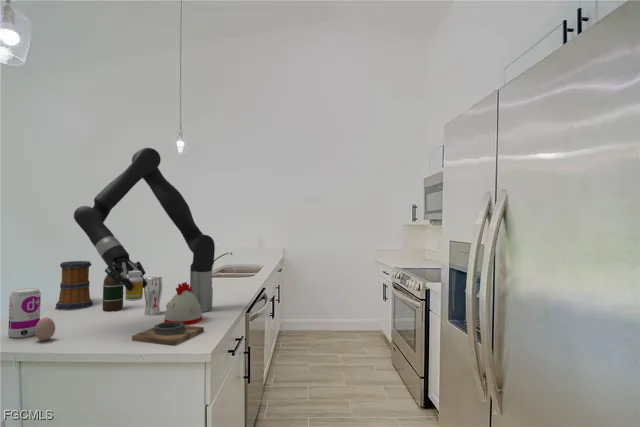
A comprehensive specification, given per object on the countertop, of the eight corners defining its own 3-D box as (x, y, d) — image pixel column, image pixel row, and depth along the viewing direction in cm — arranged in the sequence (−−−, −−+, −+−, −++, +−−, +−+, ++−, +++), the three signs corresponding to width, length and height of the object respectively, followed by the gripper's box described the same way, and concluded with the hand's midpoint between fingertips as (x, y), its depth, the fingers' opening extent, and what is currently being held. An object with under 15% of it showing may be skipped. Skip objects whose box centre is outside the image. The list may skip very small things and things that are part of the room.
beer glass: (139, 314, 153) (140, 278, 153) (152, 311, 159) (153, 276, 159) (152, 316, 150) (153, 279, 150) (165, 312, 156) (166, 277, 157)
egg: (49, 342, 116) (50, 319, 116) (30, 343, 115) (31, 319, 115) (58, 337, 121) (58, 315, 122) (39, 338, 120) (40, 315, 120)
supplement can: (44, 333, 126) (46, 289, 126) (16, 340, 118) (18, 293, 119) (31, 330, 129) (32, 287, 129) (2, 336, 122) (4, 291, 122)
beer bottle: (113, 312, 156) (115, 255, 157) (98, 311, 158) (99, 255, 158) (127, 308, 164) (128, 254, 164) (111, 307, 165) (113, 253, 166)
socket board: (165, 327, 135) (166, 317, 135) (203, 331, 130) (203, 321, 130) (131, 340, 119) (132, 329, 119) (173, 345, 115) (173, 334, 115)
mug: (65, 302, 175) (66, 259, 175) (100, 300, 179) (101, 259, 180) (49, 311, 156) (50, 264, 157) (88, 309, 161) (89, 263, 161)
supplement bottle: (143, 300, 126) (144, 271, 127) (125, 301, 124) (126, 272, 124) (141, 297, 131) (142, 269, 131) (124, 298, 128) (125, 270, 128)
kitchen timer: (156, 323, 140) (157, 283, 141) (181, 315, 153) (182, 279, 154) (185, 327, 135) (186, 286, 136) (209, 318, 148) (209, 281, 149)
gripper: (100, 245, 123) (128, 283, 119) (134, 243, 137) (160, 277, 133) (88, 260, 124) (115, 298, 121) (122, 257, 138) (147, 291, 134)
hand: (138, 287), depth 127 cm, fingers closed on supplement bottle, 5 cm apart
